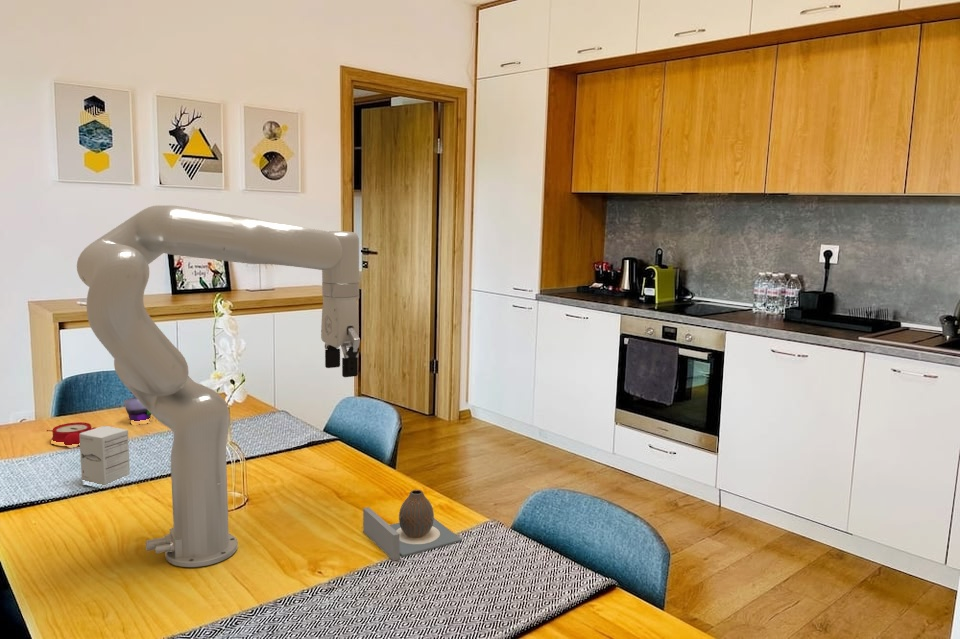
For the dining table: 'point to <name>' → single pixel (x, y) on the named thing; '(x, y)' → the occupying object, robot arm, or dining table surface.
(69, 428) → the alarm clock
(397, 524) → the mat
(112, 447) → the supplement box
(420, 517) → the vase
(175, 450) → the robot arm
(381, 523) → the low wall
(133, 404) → the potion bottle
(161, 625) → the dining table surface
